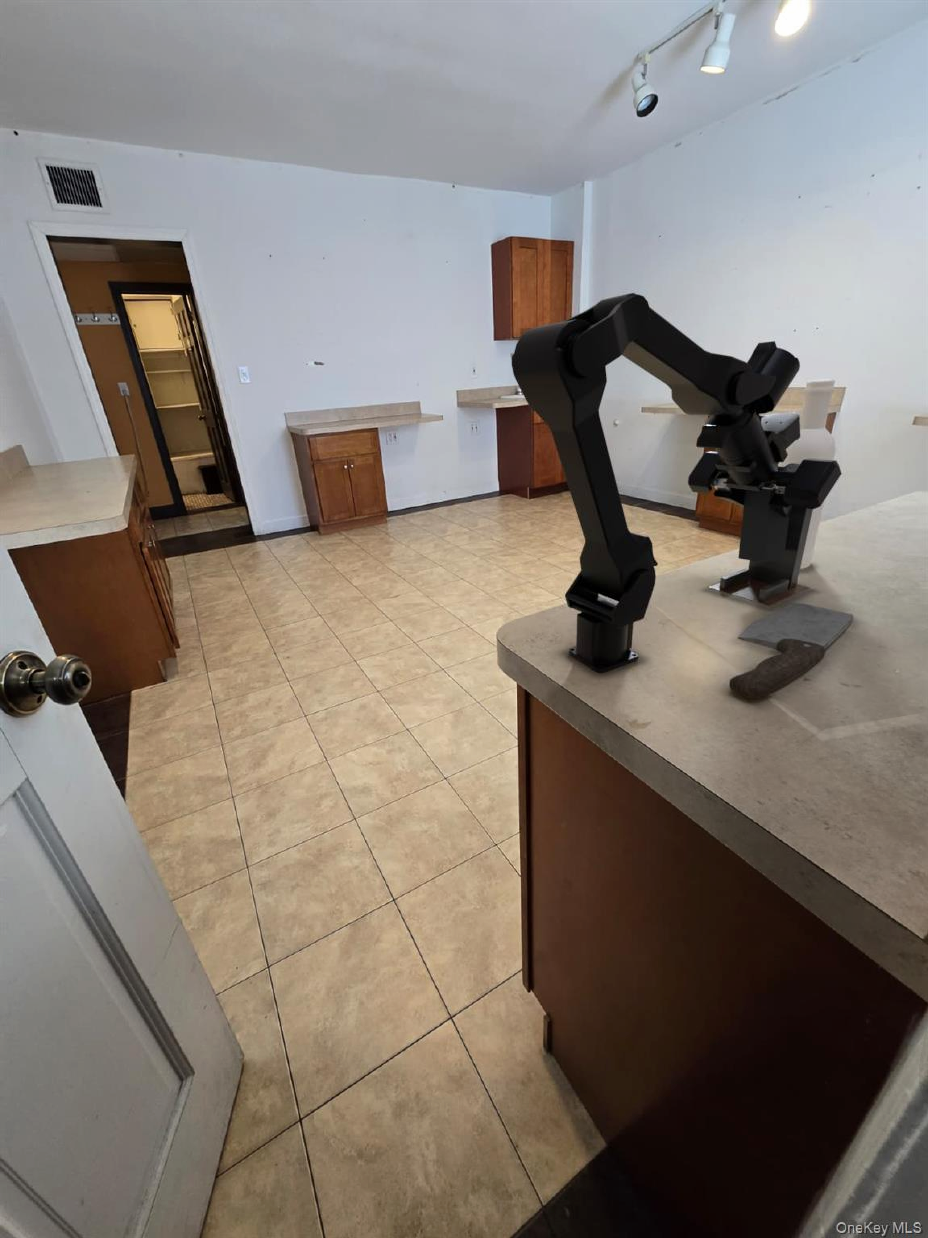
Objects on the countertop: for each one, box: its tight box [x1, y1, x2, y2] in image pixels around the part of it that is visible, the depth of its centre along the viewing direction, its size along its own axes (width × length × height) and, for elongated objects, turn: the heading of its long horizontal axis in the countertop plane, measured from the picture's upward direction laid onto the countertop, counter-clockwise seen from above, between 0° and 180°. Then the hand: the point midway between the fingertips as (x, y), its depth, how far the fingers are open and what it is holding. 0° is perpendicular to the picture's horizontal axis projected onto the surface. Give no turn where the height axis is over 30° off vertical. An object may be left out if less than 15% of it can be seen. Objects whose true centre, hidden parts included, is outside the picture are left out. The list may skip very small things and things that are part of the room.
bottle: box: [778, 378, 837, 570], centre depth 85 cm, size 8×8×30 cm
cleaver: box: [728, 602, 854, 699], centre depth 65 cm, size 29×10×2 cm, turn 133°
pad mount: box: [708, 507, 813, 607], centre depth 79 cm, size 11×10×14 cm
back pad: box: [738, 489, 789, 562], centre depth 76 cm, size 5×4×13 cm
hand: (773, 511), depth 77 cm, fingers closed on back pad, 4 cm apart
